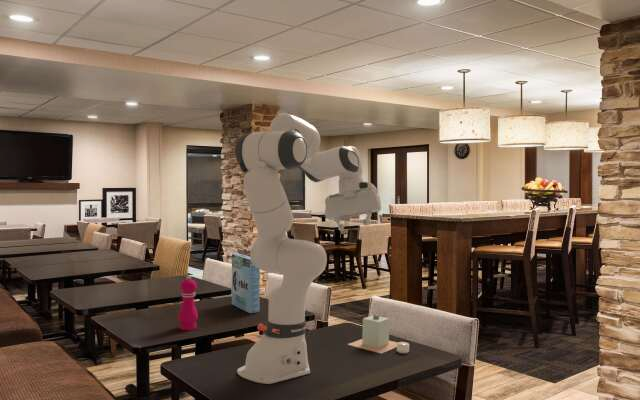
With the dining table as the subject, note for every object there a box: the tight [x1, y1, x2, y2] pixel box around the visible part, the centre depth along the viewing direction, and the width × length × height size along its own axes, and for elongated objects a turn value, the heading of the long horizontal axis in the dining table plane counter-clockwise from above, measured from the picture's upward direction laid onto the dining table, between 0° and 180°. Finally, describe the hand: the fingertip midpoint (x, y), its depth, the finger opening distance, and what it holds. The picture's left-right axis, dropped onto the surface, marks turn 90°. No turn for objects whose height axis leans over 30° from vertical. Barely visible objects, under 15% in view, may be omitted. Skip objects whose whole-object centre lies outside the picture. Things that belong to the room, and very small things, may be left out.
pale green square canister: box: [361, 314, 390, 348], centre depth 189 cm, size 7×7×10 cm
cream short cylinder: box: [396, 341, 410, 354], centre depth 182 cm, size 4×4×3 cm
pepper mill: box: [177, 274, 199, 331], centre depth 204 cm, size 7×7×20 cm
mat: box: [347, 338, 398, 354], centre depth 189 cm, size 14×14×1 cm
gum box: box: [231, 252, 261, 314], centre depth 237 cm, size 20×5×23 cm, turn 32°
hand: (353, 227), depth 188 cm, fingers open, 8 cm apart
